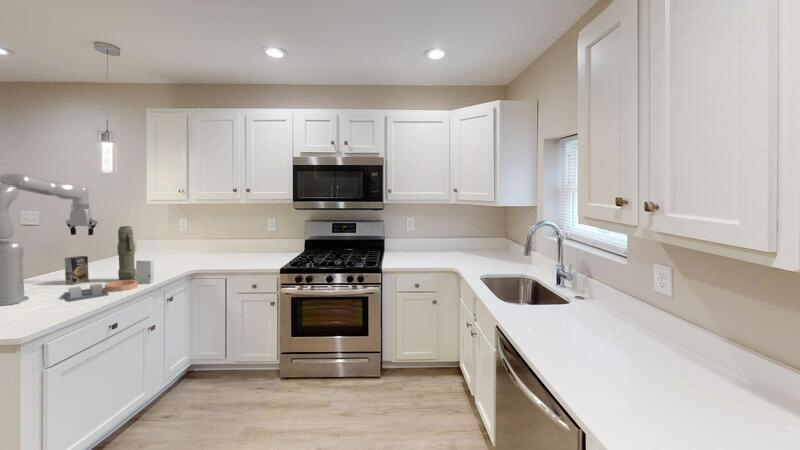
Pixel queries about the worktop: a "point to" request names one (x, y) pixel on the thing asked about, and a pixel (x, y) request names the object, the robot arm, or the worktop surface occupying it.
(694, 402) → the worktop surface
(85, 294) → the tray
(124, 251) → the thermos
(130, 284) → the bowl
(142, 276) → the skincare box
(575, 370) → the worktop surface
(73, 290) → the pebble
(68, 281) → the coffee box
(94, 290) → the pebble
